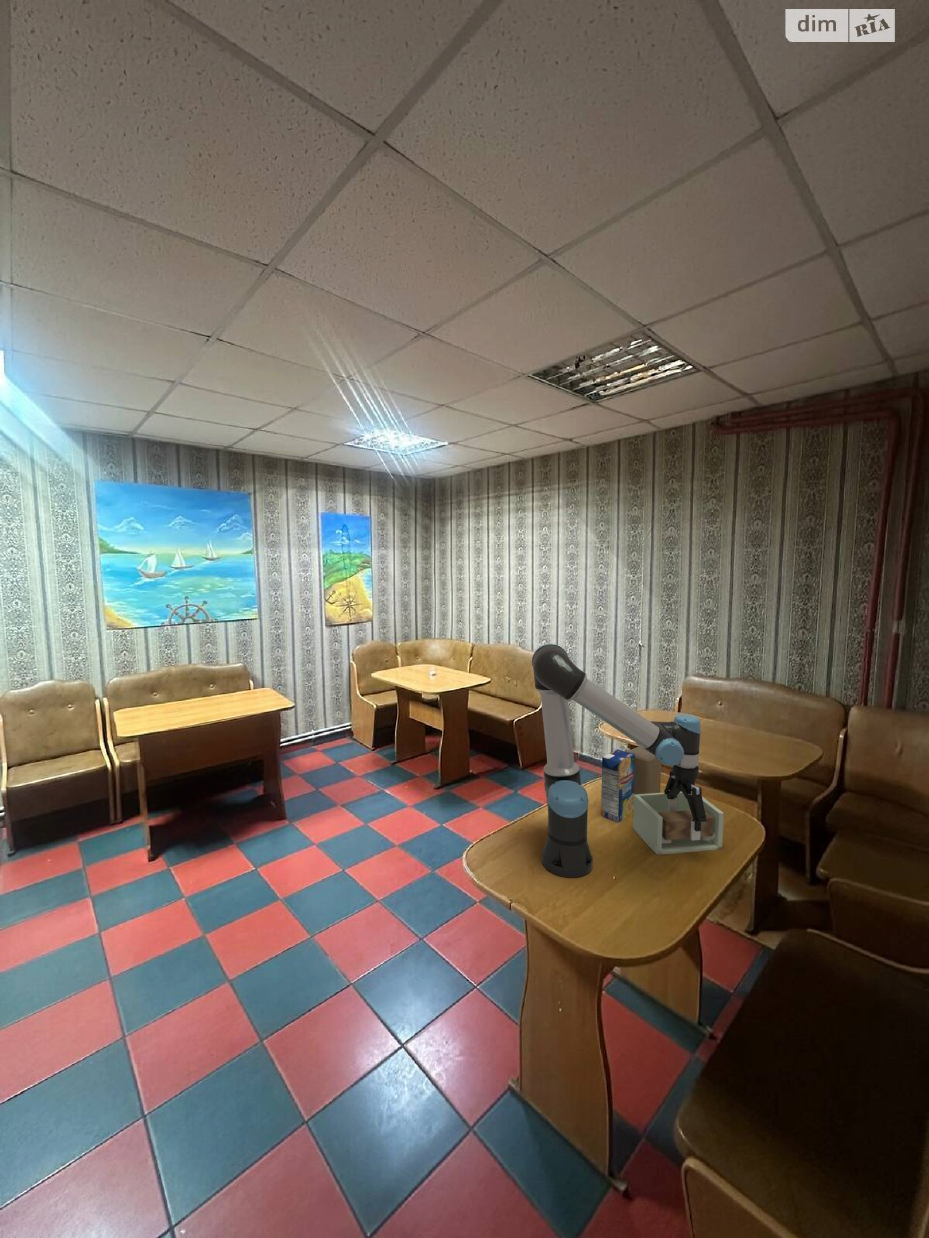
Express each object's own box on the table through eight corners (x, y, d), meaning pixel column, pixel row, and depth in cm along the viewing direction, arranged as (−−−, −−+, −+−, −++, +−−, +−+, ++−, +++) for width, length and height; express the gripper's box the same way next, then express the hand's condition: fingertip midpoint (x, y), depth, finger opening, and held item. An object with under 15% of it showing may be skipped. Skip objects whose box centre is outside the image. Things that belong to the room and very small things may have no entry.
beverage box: (600, 816, 178) (602, 757, 176) (616, 805, 186) (617, 749, 183) (618, 823, 173) (619, 762, 171) (633, 812, 181) (635, 754, 179)
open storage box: (656, 854, 154) (658, 817, 153) (632, 828, 170) (633, 794, 168) (722, 849, 157) (723, 812, 156) (692, 823, 173) (693, 790, 171)
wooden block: (637, 794, 195) (638, 745, 193) (660, 803, 187) (662, 752, 185) (622, 802, 189) (623, 751, 187) (646, 811, 181) (648, 759, 179)
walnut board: (665, 840, 155) (666, 821, 154) (655, 830, 161) (656, 812, 160) (712, 836, 157) (713, 818, 156) (701, 826, 163) (702, 808, 162)
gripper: (721, 779, 145) (718, 848, 147) (675, 749, 169) (673, 809, 171) (697, 781, 144) (694, 850, 146) (654, 750, 168) (652, 810, 170)
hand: (683, 828), depth 159 cm, fingers open, 12 cm apart
